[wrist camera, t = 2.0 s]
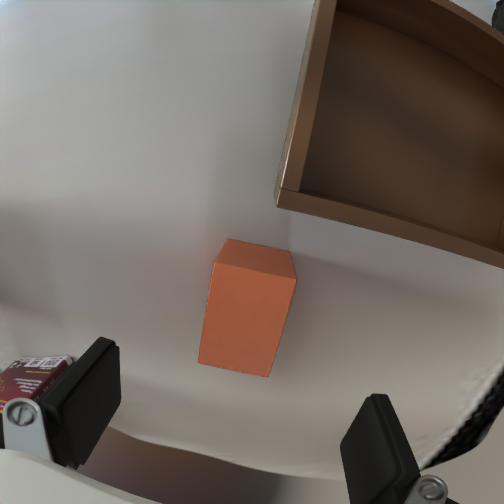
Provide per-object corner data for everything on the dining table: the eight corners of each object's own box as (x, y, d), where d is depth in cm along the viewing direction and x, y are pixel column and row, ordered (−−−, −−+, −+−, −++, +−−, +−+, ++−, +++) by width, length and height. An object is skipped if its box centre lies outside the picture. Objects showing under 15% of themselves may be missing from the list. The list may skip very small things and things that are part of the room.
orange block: (227, 237, 19) (214, 261, 14) (290, 251, 19) (297, 279, 15) (211, 321, 21) (197, 363, 16) (268, 333, 21) (268, 378, 16)
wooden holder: (314, 3, 15) (328, -47, 9) (516, 96, 15) (565, 88, 9) (273, 194, 18) (275, 207, 13) (490, 255, 19) (539, 281, 13)
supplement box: (69, 351, 23) (-36, 472, 7) (92, 394, 24) (12, 518, 9) (17, 354, 24) (-73, 442, 8) (38, 391, 25) (-38, 484, 10)
